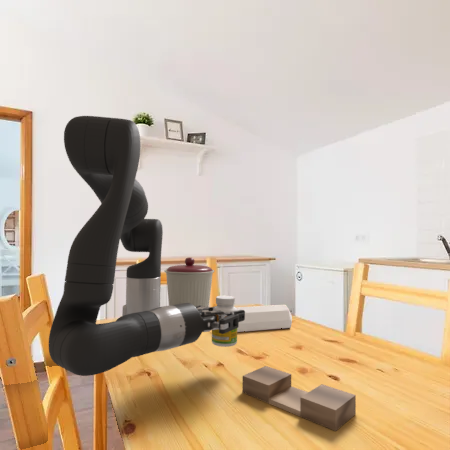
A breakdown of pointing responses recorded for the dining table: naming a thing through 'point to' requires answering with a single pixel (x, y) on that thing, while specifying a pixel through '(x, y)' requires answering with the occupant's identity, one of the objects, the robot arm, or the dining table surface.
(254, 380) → the brown wooden cradle
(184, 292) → the canister
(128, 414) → the dining table surface
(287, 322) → the crystal
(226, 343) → the supplement bottle
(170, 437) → the dining table surface
